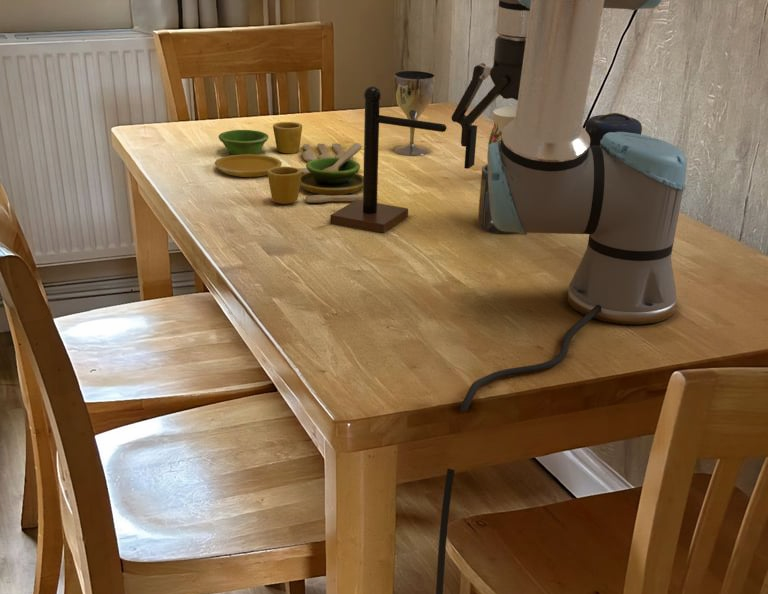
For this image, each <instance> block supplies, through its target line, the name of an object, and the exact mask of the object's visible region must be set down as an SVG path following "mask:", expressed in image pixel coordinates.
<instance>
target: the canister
mask: <svg viewBox="0 0 768 594" xmlns="http://www.w3.org/2000/svg"><path fill="white" fill-rule="evenodd" d="M584 129H585V130H586V132H587V133H588V135H589V137H590V146H600V145H601V144H600V141H601V139H602V138H603V136H604V135H605V134H606V133H609V132H614V133H615V132H628V133H635V134H640V135H642V133H643V125H642V123H641V122H640V120H638V119H636V118H634V117H630V116H629V115H626V114H624V113H618V112H611V113H607V114H598V115H593V116H591V117H589V118H588V119H587V120H586V122H585V127H584Z"/></svg>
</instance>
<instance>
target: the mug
mask: <svg viewBox="0 0 768 594" xmlns="http://www.w3.org/2000/svg"><path fill="white" fill-rule="evenodd" d="M479 185H480V186H479V198H478V209H477V227H479V229H481V230H483V231H486V232H490V233H496V234H505V235H507V234H508V235H510V234H519V233H520V232H506V231H500V230H498V229H497V228H496V227H495V226H494V224H493V222H492V218H491V210H490V200H489V186H488V164H487V163H486V164H485V165H483V166H481V171H480V183H479Z"/></svg>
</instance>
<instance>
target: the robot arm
mask: <svg viewBox="0 0 768 594" xmlns="http://www.w3.org/2000/svg"><path fill="white" fill-rule="evenodd" d="M662 1H663V0H498V6H497V7H498V8H497V17H496V27H495V29H496V30H495V32H496V33H497V35H498V36H497V37H496V38H495V40H494V41H495V42H494V53H493V54H494V55H493V65H492V67H490V66H487V65H486V64H485V63H483V62H481V63H479V64H477V65H475V66H474V67H473V71H472V76H471V80H470V82H469V84H468V86H467V88H466V89H465V91H464V93H463V95H462V96H461V98H460V101H459V102H458V104H457V106H456V108H455V109H454V112H453V113H452V115H451V118H450V119H451V122H453V123H457V124H459V125H460V126H461V137H460V145H461V147H464V148H465V153H464V169H466V170H467V169H468V170H469V169H470V168H472V167H473V166H475V160H476V159H475V158H476V147H477V146H476V145H477V134H478V125H474V123H475V121H476V120H477V119H478V118H479V117H480V116H481V115H482V114H483V113H484V112H485V111H486V110H487V109H488V108H489V106H491V105H492V103H493V102H494V101H495V100H496V99H497V98H498V97H499V96H501V97H502V99H503V100H504V99H506V100H509V99H513V100H516V101H517V104H516V107H517V111H516V118H515V119H513V120H512V121H510V122H509V123H508V124H507V125H506V126H505V127H504V128H503V131H502V136H501V143H500V142H495V143H491V144H489V146H487V154H486V156H487V159H486V161H487V163H486V165H487V164H488V186H489V200H490V210H491V218H492V222H493V224H494V226H495V227H496V228H497V229H498V230H500V231H506V232H519V233H520V234H522V235H527V234H554V235H555V234H561V235H562V234H563V235H565V234H566V235H588V240H587V247H586V250H585V252H584V254H583V256H582V258H581V261H580V262H579V264H578V266H577V268H576V271H575V272H574V275H573V277H572V279H571V281H570V283H569V286H568V293H567V303H568V304H569V305H570V306H571V308H573V309H574V310H575V311H576V312H578V313H580V314H582V315H584V316H583V317H582V318H580V320H578V321H577V322H576V323H574V324H573V326H571V327H570V328H569V329H568V331H567V332H566V333H565V335H563V336H564V337H563V338H562V340H561V345H560V348H559V352H558V353H557V354H556V355H555V357H553V358H551V359H550V360H547V361H545V362H541V363H537V364H532V365H524V366H518V367H512V368H511V367H510V368H506V369H502V370H497V371H495V372H492V373H490V374H488V375H485V376H482V377H480V378H478V379H477V380H475V381H474V382H473V383H472V384H471V385H470V387H469V388H468V391H467V392H466V394H465V396H464V398H463V401H462V403H461V405H460V408H459V411H460V412H462V413H465V412H468V411H469V408H470V406H471V404H472V401H473V399H474V397H475V395H476V394H477V391H478V390H479V389H480V388H482V387H484V386H486V385H487V384H490V383H491V382H494V381H496V380H499V379H504V378H507V377H508V378H509V377H512V376H513V377H514V376H519V375H525V374H533V373H538V372H542V371H545V370H548V369H551V368H553V367H555V366H557V365H559V364H560V363H561V362H562V361H563V360H564V359H565V357H566V356H567V353H568V351H569V344H570V341H571V340H572V338H573V336H574V335H576V333H577V332H578V331H580V330H581V329H582V328H583V327H584V326H585V325H586V324H588V323H589V322H590V321H591V320H592V319H595V320H598V321H602V322H607V323H613V324H621V325H648V324H649V325H650V324H654V323H659V322H663V321H665V320H667V319H669V318H671V317H672V315H673V314H674V313H675V310H676V305H677V298H678V297H677V289H676V283H675V275H674V269H673V263H672V253H673V248H674V243H675V237H676V232H677V225H678V221H679V215H680V210H681V204H682V200H683V194H684V190H686V176H687V167H688V160H687V156H686V155H685V153H684V151H683V150H682V149H680V148H679V147H678V146H676V145H674V144H673V143H670V142H668V141H665V140H662V139H659V138H656V137H653V136H648V135H645V134H641V135H640V134H635V133H628V132H615V133H614V132H609V133H606V134H605V135H604V136H603V138H602V139H601V141H600V144H601V145H600V146H590V137H589V135H588V133H587V132H586V130H585V127H583V122H584V121H583V120H584V116H585V115H584V114H585V109H586V103H587V98H588V94H589V88H590V82H591V77H592V71H593V65H594V59H595V53H596V49H597V42H598V39H599V38H598V37H599V32H600V27H601V20H602V15H603V9H614V10H615V9H617V10H629V11H630V10H631V11H637V10H645V9H646V10H647V9H648V10H649V9H650V10H651V9H655V8H657V7H658V6H659V5H660V4H661V3H662ZM489 76H490V79H491V81H492V83H493V84H494V86H493V87H492V88H491V89H490V90H489V91H488V92H487V93H486V95H485V96H484V97H483V98H482V99H481V100H480V101H479V102H478V104H477V105H475V107H474V108H473V109H472V110H471V111H470V112H469V113H468V114H467V115H466V113H467V111H468V110H469V108H470V106H471V104H472V102H473V100H474V99H475V97H476V95H477V94H478V92H479V90H480V87H481V86H482V84H483V82H484V81H485V80H487V79H488V78H489ZM454 477H455V469H451V468H447V469H446V477H445V482H444V489H443V490H444V491H443V497H442V506H441V514H440V515H441V516H440V525H439V536H438V537H439V540H438V551H437V569H436V583H435V584H436V585H435V587H436V588H435V594H444V580H445V564H446V551H447V549H446V548H447V539H448V528H449V527H448V525H449V517H450V508H451V507H450V505H451V498H452V492H453V491H452V490H453V484H454Z"/></svg>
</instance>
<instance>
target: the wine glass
mask: <svg viewBox="0 0 768 594" xmlns="http://www.w3.org/2000/svg"><path fill="white" fill-rule="evenodd" d="M434 88H435V75H434V74H433V73H431V72H427V71H420V70H405V71H398V72H395V74H394V93H395V94H394V95H395V100H396V103H397V105H398V107H399V108H400V110H401V111H402V113H403V114H404V115H405V117H406V119H411V120H418V121H419V118H420V117H421V115H423V113H424V112H425V111H426V110H427V109H428V107H429V106H430V104H431V103H432V102H431V101H432V99H433V94H434ZM415 130H416V128H411V127H409V144H408V145H404V146H399V147H396V148H394V150H393V151H394V153H397V154H399V155H403V156H412V157H414V156H415V157H416V156H423V155H427V154H429V150H428V149H427V148H425V147H422V146H417V145H415Z"/></svg>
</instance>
